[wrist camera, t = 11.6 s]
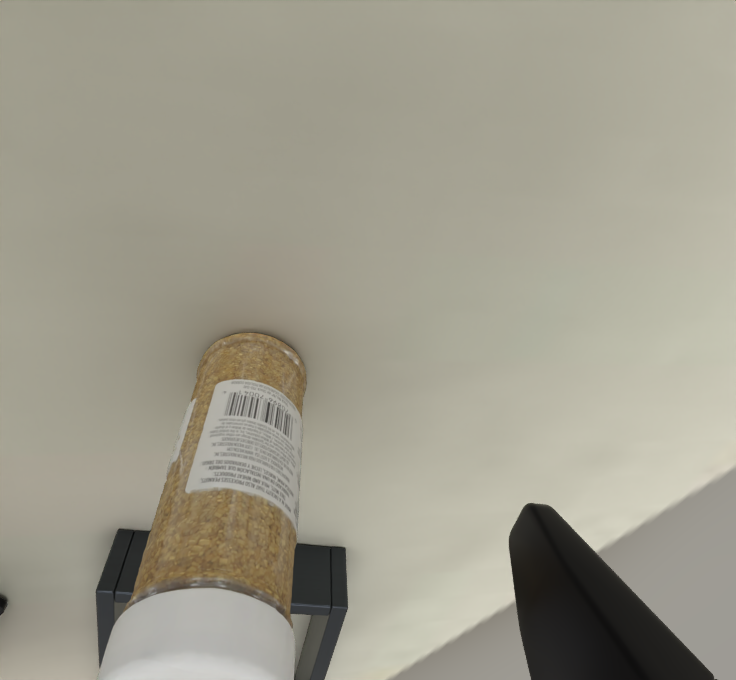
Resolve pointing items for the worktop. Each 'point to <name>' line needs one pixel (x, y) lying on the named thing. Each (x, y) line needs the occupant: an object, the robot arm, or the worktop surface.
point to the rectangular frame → (309, 596)
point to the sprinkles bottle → (222, 528)
